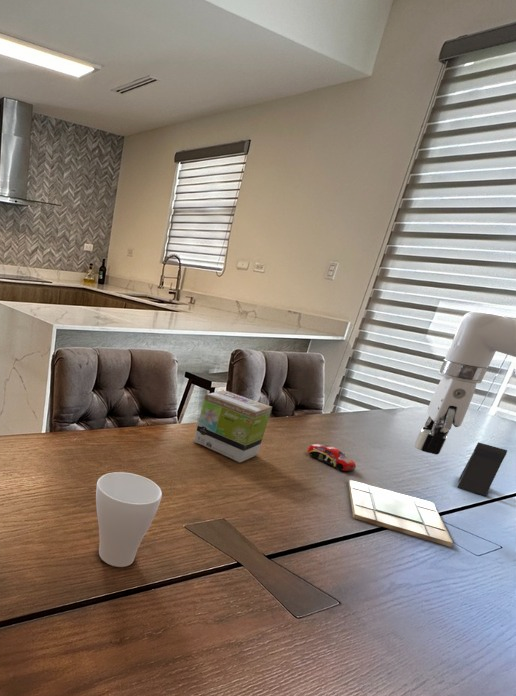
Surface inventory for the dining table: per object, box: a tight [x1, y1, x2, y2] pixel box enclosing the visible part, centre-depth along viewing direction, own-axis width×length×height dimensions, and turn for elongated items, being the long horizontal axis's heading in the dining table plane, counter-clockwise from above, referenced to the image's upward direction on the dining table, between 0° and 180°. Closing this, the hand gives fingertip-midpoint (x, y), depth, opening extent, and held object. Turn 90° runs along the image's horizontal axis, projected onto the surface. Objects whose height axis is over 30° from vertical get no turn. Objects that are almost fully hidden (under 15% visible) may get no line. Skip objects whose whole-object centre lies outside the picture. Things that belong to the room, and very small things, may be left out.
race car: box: [306, 443, 357, 472], centre depth 130 cm, size 13×5×4 cm, turn 26°
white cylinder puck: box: [413, 428, 448, 454], centre depth 107 cm, size 5×5×4 cm
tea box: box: [193, 389, 273, 464], centre depth 128 cm, size 15×10×15 cm, turn 43°
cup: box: [95, 471, 163, 568], centre depth 78 cm, size 10×10×14 cm
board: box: [347, 479, 454, 548], centre depth 108 cm, size 18×20×1 cm
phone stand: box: [457, 442, 508, 497], centre depth 124 cm, size 9×6×12 cm, turn 138°
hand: (427, 447), depth 108 cm, fingers closed on white cylinder puck, 5 cm apart
